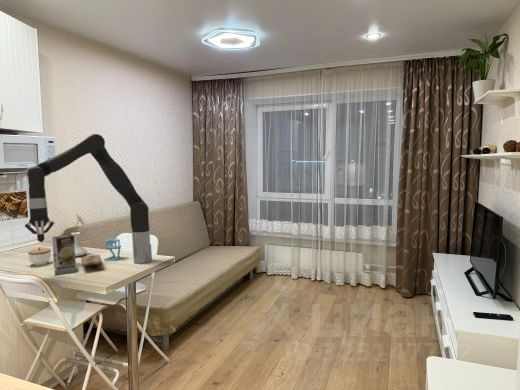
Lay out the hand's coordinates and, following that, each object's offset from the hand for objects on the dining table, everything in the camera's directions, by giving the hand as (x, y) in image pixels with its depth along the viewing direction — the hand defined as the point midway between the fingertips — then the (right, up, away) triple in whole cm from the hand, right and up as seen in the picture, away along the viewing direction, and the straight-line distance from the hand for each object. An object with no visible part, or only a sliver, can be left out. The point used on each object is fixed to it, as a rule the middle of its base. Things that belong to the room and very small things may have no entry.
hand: (41, 241), depth 181 cm
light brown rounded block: (+20, -15, +12) cm, 28 cm away
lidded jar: (-13, -16, +22) cm, 30 cm away
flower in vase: (-1, -14, +40) cm, 42 cm away
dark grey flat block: (+9, -16, +6) cm, 20 cm away
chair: (+24, -14, +30) cm, 41 cm away
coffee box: (+2, -16, +18) cm, 24 cm away
